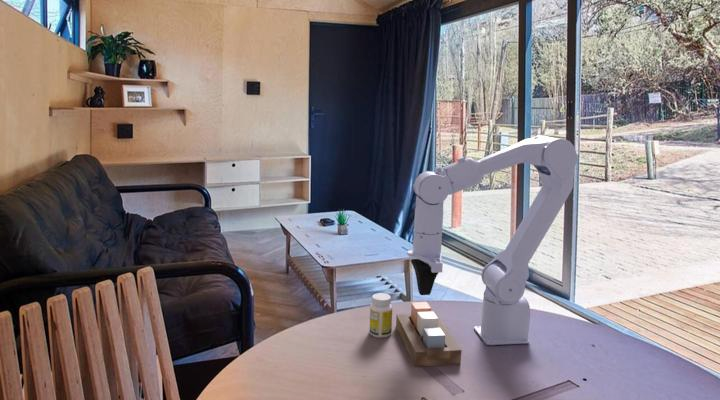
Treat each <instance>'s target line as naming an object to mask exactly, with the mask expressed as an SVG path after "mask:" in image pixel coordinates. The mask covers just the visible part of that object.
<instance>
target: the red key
mask: <svg viewBox="0 0 720 400" xmlns="http://www.w3.org/2000/svg"><path fill="white" fill-rule="evenodd" d="M410 308H411V309H410V314H411V320H412V321H413V323H414V325H417V312H432V307H431V306H430V304H429V303H428V301H420V302H419V301H414V302H413V301H412V302H411V307H410Z"/></svg>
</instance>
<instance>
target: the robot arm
mask: <svg viewBox="0 0 720 400" xmlns="http://www.w3.org/2000/svg"><path fill="white" fill-rule="evenodd" d="M579 160H580V159H579V156H578V153H577V151H576V149H575V145H574V144H573V143H572V142H571V141H570V140H567V139H564V138H557V137H551V136H548V135H546V134H545V135H544V134H538V135H536V136H534V137H530V138H525V139H522V140H520V141H519V142H516V143H513V144H512V145H510V146H508V147H506V148H503V149H500V150H498V151H496V152H493V153H491V154H489V155H486V156H485V157H482V158H479V159H478V160H476V159H474V158H472V157H469V156H468V157H466V158H465V156H460V157H458V158H456V161H455V162H453V163H450V164H448V165H445V166H442V167H441V166H440V165H438V166H436V167H434V171H430V170H427V171H424V172H422V173H420V174H418V176H417V177H416V178H415V180H414V183H413V184H412V188H413V189H412V190H413V191H414V193H415V194H416V198H415V208H414V222H413V224H414V225H413V241H412V249H411V250H407V252H406V253H407V256H408V257H410V258H411V257H412V259H410V262H411V264H412V268H413V270H414V272H415V273H414V274H415V278H416V284H417V289H418V290H417V291H418V293H419V296H430V295H431V293H432V290H433V287H434V284H435V280H436V278H437V276H438V275H439V273H443V267H444V266H443V262H442V258H443V256H442V255H443V252H442V243H443V242H442V239H443V226H444V225H443V223H444V201H446V200H447V198H448V196H449V195H450V196H451V195H453V194H457V193H459V192H462V191H463V190H464V191H465V190H466V189H469V188H471V187H474V186H476V185H479V184H480V183H481V182H482V180H483V178H484V176H487V175H489V174H492V173H496V172H498V171H500V170H505V169H508V168H510V167H513V166H516V165H519V164H527V165H533V167H534V168H535V169H536V170H537V172H538V175H539V178H540V181H541V184H542V186H541V187H540V189H539V191H538V193H537V194H536V196H535V198H534V200H533V202H532V203H531V205H530V206H529V208H528V209H527V211H526V212H525V215H524V216H523V218H522V220H521V222H520V224H519V225H518V227H517V228H516V230H515V232H514V234H513V235H512V237H511V239H510V241H509V242H508V244H507V246H506V248H505V249H504V250H502V251H500V252H498V253H497V254H496V255H495V256H494V258H493V259H491V261H489V262H488V263H487V264H486V265H485V266H484V267H483V268H482V271H481V275H480V276H481V281H482V282H483V284H484V285H485V289H484V290H483V298H482V311H481V313H482V314H481V320H480V321H481V324H480V325H479V326H476V325H475V326H474V327H473V330H474V331H475V332H476V334H478V336H479V337H480V338H481V340H482V341H483V342H484V343H485V344H486V346H496V345H497V346H499V345H516V344H517V345H521V344H529V343H530V340H529V339H528V338H529V332H530V331H529V329H530V321H531V307H530V304H529V301H528V299H527V298H526V297H524V294H525V291H526V283H527V280H528V279H529V278H530V270H529V263H530V262H531V260H532V258H533V256H534V255H535V253H536V252H537V249H538V247H539V246H540V245H541V243H542V241H543V239H544V238H545V237H546V234H547V233H548V231H549V229H550V227H551V226H552V225H553V222H554V221H555V219H556V217H557V216H558V214H559V213H560V211H561V209H562V207H563V206H564V204H565V202H566V201H567V199H568V197H569V196H570V194H571V192H572V190H573V188H574V179H575V170H576V169H575V167H576V165H577V164H578V162H579Z"/></svg>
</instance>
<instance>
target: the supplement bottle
mask: <svg viewBox="0 0 720 400" xmlns="http://www.w3.org/2000/svg"><path fill="white" fill-rule="evenodd" d="M371 297H372V298H371V304H370V306H369V334H370V335H371V336H373V337H375V338H387V337H389V336H390V335H391V334H392V329H393V328H392V327H393V306H392V305H393V304H391V303H392V297H391V295H390V294H388V293H384V292H377V293H375V294H373V295H372V296H371Z"/></svg>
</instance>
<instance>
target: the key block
mask: <svg viewBox="0 0 720 400" xmlns="http://www.w3.org/2000/svg"><path fill="white" fill-rule="evenodd" d="M434 313H435V315H436V316H437V318H438V328H441V330H442V331H443V333H444V334H445V348H425V346H424V344H423V336H421V335H420V334H419V332H418V330H417V325H414V323H413V321H412V320H411V313H403V314H402V313H401V314H399V313H398V314H396V317H395V318H396V319H395V320H396V321H395V328H396V330H397V332H398V334H399V336H400V338H401V340H402V343H403V345H404V347H405V349H406V351H407V353H408V355H409V357H410V359H411V361H412V363H413V365H414V367H416V368H417V367H437V366H439V367H440V366H451V365H452V366H456V365H461V362H462V349H461V346H459V344H458V343H457V341H456V340H455V338H454V337H453V335H452V334H451V333H450V331H449V330H448V328H447V326H445V324H444V322H443V321H442V319H441V318H440V317H439V315H438V314H437V312H434Z"/></svg>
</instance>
